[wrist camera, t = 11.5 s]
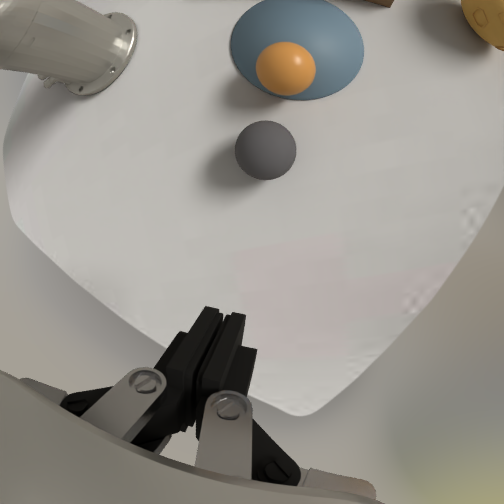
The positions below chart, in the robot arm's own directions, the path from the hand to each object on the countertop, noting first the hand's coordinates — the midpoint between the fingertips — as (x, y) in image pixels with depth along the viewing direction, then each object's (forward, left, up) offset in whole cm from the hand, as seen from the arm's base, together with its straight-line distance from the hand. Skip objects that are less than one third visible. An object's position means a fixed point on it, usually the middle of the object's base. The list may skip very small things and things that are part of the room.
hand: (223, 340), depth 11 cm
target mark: (+7, +20, -19) cm, 28 cm away
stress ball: (+33, +23, -19) cm, 45 cm away
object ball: (+5, +16, -16) cm, 23 cm away
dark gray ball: (+2, +8, -16) cm, 18 cm away
